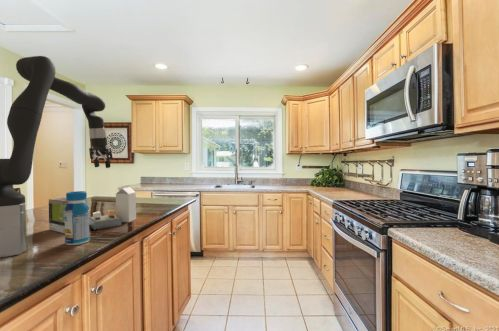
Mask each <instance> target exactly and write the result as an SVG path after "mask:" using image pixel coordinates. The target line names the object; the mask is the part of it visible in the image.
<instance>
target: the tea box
mask: <svg viewBox="0 0 499 331" xmlns="http://www.w3.org/2000/svg"><path fill="white" fill-rule="evenodd" d="M86 200H87V199H86ZM86 200H85V202H86V203H87V201H86ZM67 204H68V201H67V200H66V196H65V197H57V198H55V197H54V198H48V229H49V230H51V231H54V232H57V233H61V234H65V220H64V215H65V212H64V209H65V207H66V205H67Z"/></svg>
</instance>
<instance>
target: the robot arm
mask: <svg viewBox="0 0 499 331" xmlns="http://www.w3.org/2000/svg"><path fill="white" fill-rule="evenodd" d="M15 68H16V71H17V73H18V74H19V76H20V77H21V78H23V79H24V80H26V81H28V82H29V83H28V85H27V86H26V87H25V88H24V90H23V91H22V92H21V93H20V94H19V95H18V96H17V97H16V98H15V99H14V100H13V102H12V104H11V105H10V107H9V108H10V109H9V112H8V116H7V119H6V124H7V125H6V126H7V128H8V131H9V133H10V136H11V137H12V141H13V142H12V143H13V144H12V145H13V146H12V151H11V155H10V158H0V259H1V257H2V258H7V257H11V256H13V257H14V256H17V255H22V253H24V252H26V251H27V250H28V249H27V222H26V221H27V220H26V219H27V217H26V216H27V215H26V197H25V195H24V194H23V193H20V192H18V191H16V190H15V188H14V186H19V185H23V184H26V183H27V181H28V180H29V179H30V176H31V174H32V167H33V160H34V151H35V146H36V145H35V144H36V140H37V136H38V132H39V129H40V126H41V122H42V118H43V112H44V108H45V105H46V101H47V98H48V94H49V91H50V90H51V91H53V92H55V93H56V94H57V93H58V94H60V95H62V96H64V97H66V98H67V99H69V100H71V101H73V102H75V103H76V104H79V105H81V109H82V111H83V113H84V115H85V118H86V119H87V124H88V125H87V126H88V132H89V140H90V146H91V147H90V148H89V150H88V151H89V158H90V160H92V161H93V165H94V168H99V167H100V161H99V159H100V157H101V159H103V160H104V164H105V168H106V169H110V168H111V160H113V159H114V158H113V152H112V148H111V147H107V146H108V140H107V138H108V137H107V132H106V128H105V122H104V118H103V117H102V116H99V115H98V116H97V114H96V113H98V112H103V111H104V110H105V108H106V102H105V101H104V100H103V98H102V97H100V96H98V95H95V94H93V93H91V92H89V91H88V92H87V91H86V90H84V89H83V88H82V87H80V86H78V85H77V84H74V83H73V82H70V81H66V80H64V79H61V78H58V77H56V66H55V64H54V62H53V60H51V58H49V57H47V56H44V55H36V56H35V55H34V56H28V57H21V58H20V59H18V60H17V61H16V64H15Z"/></svg>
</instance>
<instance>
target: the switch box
mask: <svg viewBox="0 0 499 331" xmlns="http://www.w3.org/2000/svg"><path fill="white" fill-rule="evenodd" d="M120 226H122V222H121V218H119V217H118V216H116V214H115V215H108V214H105V215H102V216H100V217H96V218H94V217H93V216H89V228H91V229H92V230H93V231H96V229H97V230H102V229H110V228H114V227H120Z"/></svg>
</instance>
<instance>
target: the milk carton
mask: <svg viewBox="0 0 499 331" xmlns="http://www.w3.org/2000/svg"><path fill="white" fill-rule="evenodd" d="M136 194H137V193H136V191H135V190H134V189H133V188H132V187H131V186H130V184H128V185H121V188H120V189H119V191H117V192H116V193H115V211H116V214H115V215H116V216H118V217H119V218H121V223H131V222H134V221H135V220H137V197H136V196H137V195H136Z"/></svg>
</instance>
